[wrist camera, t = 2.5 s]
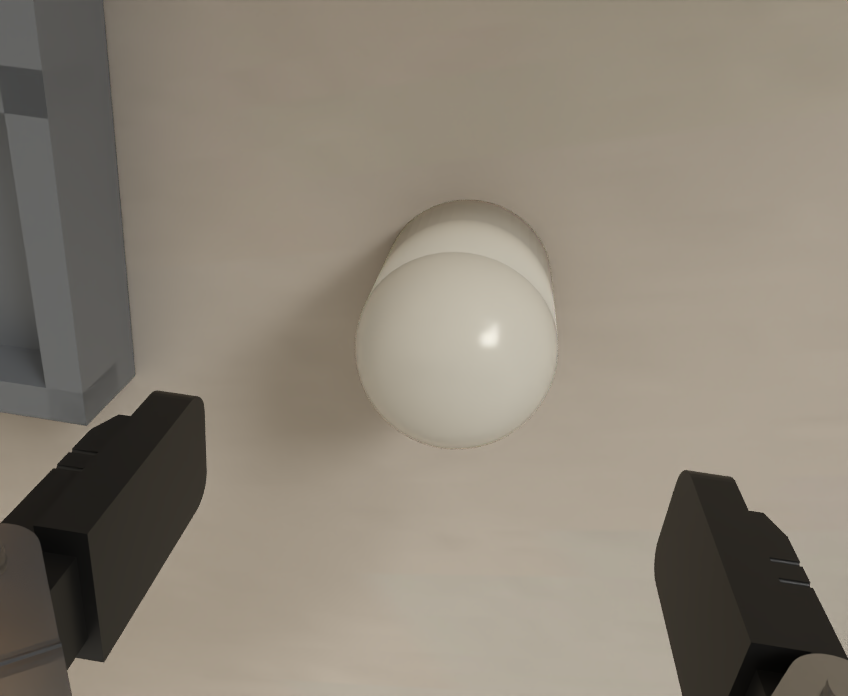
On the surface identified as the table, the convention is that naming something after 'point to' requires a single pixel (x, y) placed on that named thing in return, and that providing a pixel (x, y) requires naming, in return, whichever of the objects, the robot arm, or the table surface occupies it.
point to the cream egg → (460, 327)
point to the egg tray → (59, 216)
